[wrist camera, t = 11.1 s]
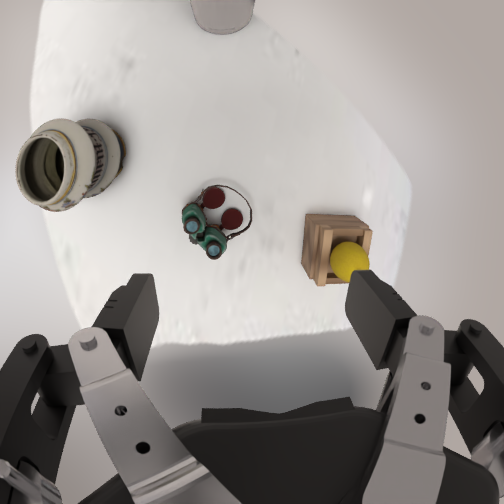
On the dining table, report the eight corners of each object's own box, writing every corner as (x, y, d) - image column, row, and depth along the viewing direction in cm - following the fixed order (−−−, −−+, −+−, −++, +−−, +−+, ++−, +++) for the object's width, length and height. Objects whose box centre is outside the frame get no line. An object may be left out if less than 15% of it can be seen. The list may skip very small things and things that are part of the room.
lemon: (363, 245, 43) (384, 264, 35) (344, 273, 44) (362, 297, 37) (336, 228, 42) (355, 245, 34) (317, 259, 43) (331, 281, 36)
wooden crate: (305, 214, 47) (320, 229, 39) (354, 215, 47) (375, 231, 40) (301, 263, 50) (313, 286, 42) (347, 262, 51) (365, 284, 43)
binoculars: (269, 227, 37) (211, 275, 38) (256, 212, 47) (210, 250, 48) (226, 174, 34) (165, 226, 35) (221, 170, 44) (174, 210, 45)
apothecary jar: (127, 195, 43) (74, 228, 27) (68, 186, 41) (4, 214, 25) (138, 122, 39) (85, 117, 22) (76, 118, 37) (9, 118, 20)
